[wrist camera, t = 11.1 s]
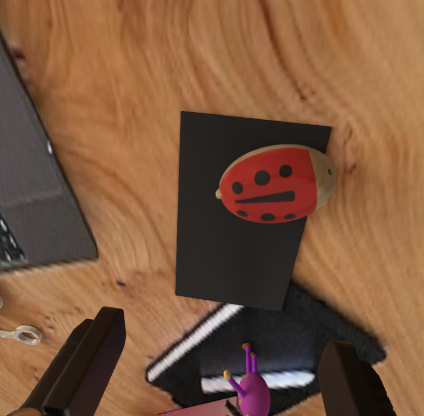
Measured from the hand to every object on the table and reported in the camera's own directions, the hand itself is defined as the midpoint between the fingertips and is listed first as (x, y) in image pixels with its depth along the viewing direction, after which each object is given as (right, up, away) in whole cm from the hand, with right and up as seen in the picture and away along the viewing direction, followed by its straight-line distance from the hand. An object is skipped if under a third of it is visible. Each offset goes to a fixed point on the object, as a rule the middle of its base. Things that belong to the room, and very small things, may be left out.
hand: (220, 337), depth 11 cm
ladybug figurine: (+5, +8, +13) cm, 16 cm away
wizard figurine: (+5, -12, +23) cm, 27 cm away
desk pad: (+2, +3, +16) cm, 16 cm away
